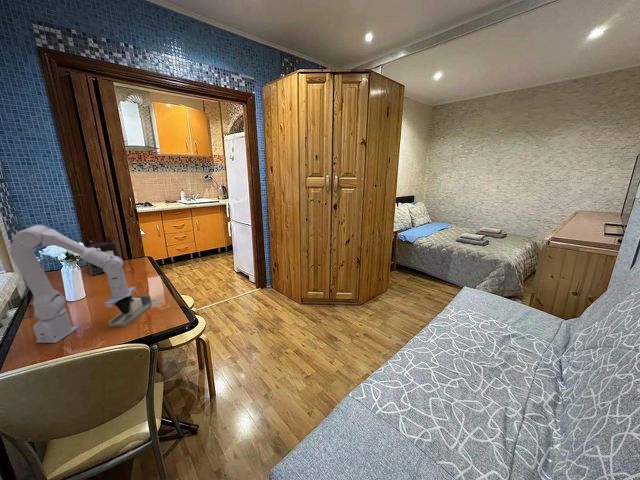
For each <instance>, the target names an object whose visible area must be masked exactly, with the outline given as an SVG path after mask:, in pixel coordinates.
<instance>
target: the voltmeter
mask: <svg viewBox="0 0 640 480" xmlns="http://www.w3.org/2000/svg"><path fill="white" fill-rule="evenodd" d="M105 238H106V242H105V241H104V242H100V243H94V244H92V243H91V240H90V239H85V240H84V246H85V247H87V248H92V247H94V248H96V249H97V248H100V249H101V250H100V251H102V252H104V253H107V254H109V255H113V256H119V257H120V258H121V259H122V257H121V253H120V251H119V249H118V245H117V243H116V241H115V240H113V239H112V237H111V236H106V237H105ZM107 257H108V256H107ZM86 264H87V267H88V270H89V272H90V274H91V275H93V276H97V275H99V273H103V272H104V271H103V268H101V267H98V266H96V265H94V264H91V263H89V262H87V261H86ZM122 268H124V265H123V266H122ZM104 273H105V272H104Z"/></svg>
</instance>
